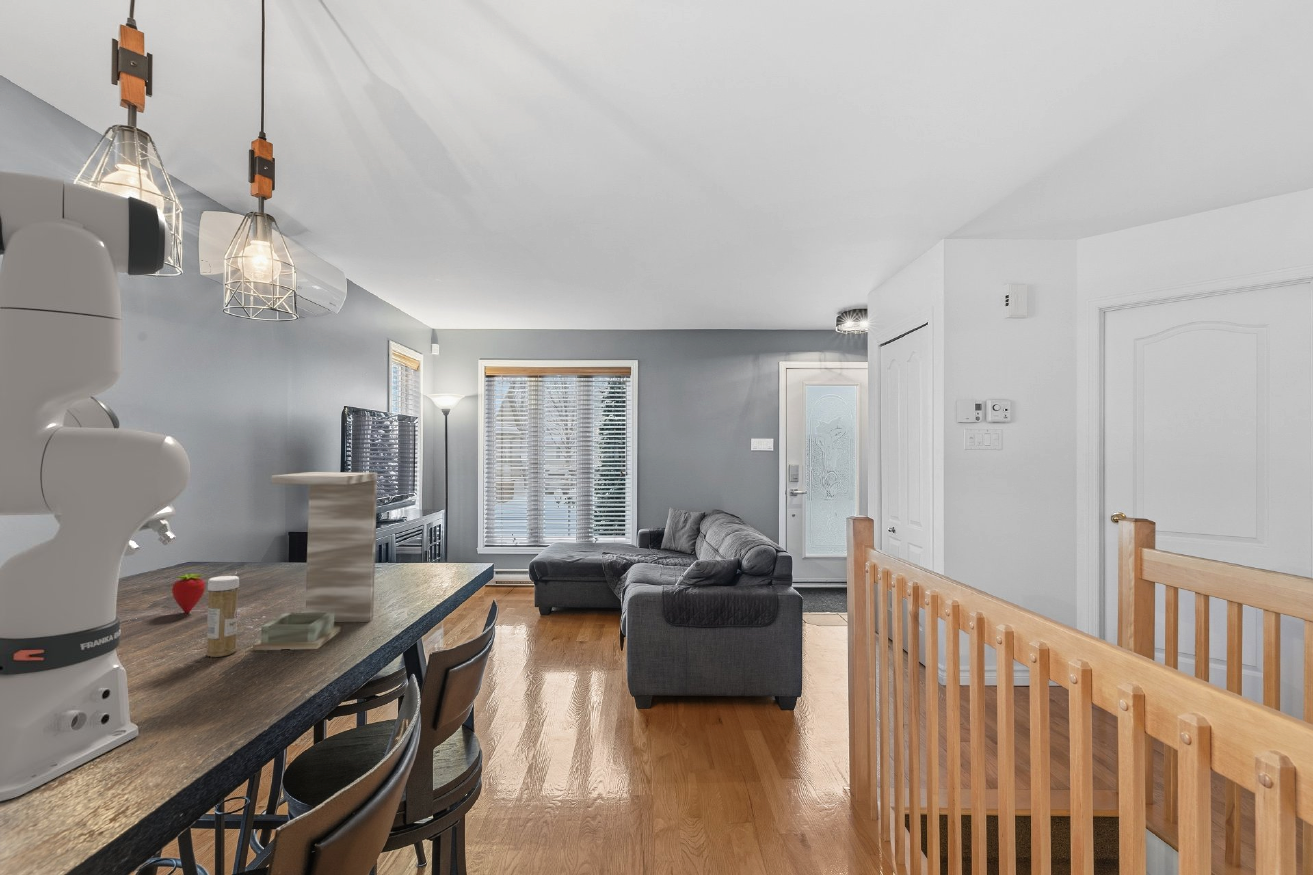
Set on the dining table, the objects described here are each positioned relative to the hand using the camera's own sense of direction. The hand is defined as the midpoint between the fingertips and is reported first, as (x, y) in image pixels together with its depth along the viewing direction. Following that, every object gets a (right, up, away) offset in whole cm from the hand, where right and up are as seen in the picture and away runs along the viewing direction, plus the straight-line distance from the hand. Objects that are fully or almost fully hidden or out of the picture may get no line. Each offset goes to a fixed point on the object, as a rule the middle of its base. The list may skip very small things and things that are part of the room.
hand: (153, 547), depth 109 cm
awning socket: (+22, -19, +14) cm, 32 cm away
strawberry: (-14, -19, +27) cm, 36 cm away
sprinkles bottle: (+11, -19, +1) cm, 22 cm away
